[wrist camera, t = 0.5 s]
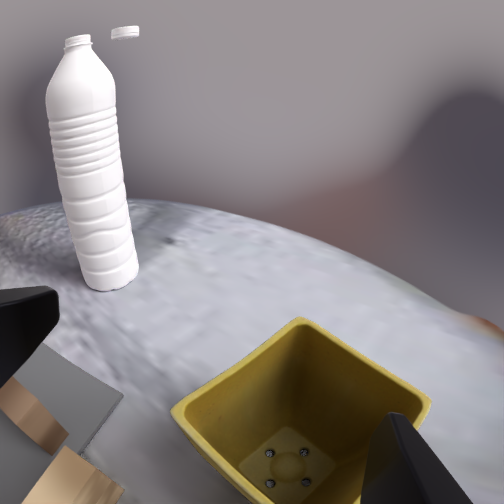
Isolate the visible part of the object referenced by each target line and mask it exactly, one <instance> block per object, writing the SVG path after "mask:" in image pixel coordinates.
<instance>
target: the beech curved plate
mask: <svg viewBox="0 0 504 504" xmlns="http://www.w3.org/2000/svg"><path fill="white" fill-rule="evenodd" d="M123 492H124V489H123V488H121V487H120V486H119V485H117V484H116V483H115V482H114V481H112V480H111V479H110V478H108V477H107V476H106V475H105V474H103V473H102V472H101V471H100V470H98V469H97V468H96V467H94V466H93V465H91V464H90V463H89V462H87V461H86V460H84V459H83V458H82V457H80V456H79V455H78V454H76V453H75V452H74V451H72V450H71V449H70V448H68V447H67V446H66V445H65V446H64V447H63V448H62V450H61V451H60V452H59V454H58V455H57V456H56V458H55V459H54V460H53V462H52V463H51V464H50V466H49V467H48V468H47V470H46V471H45V472H44V474H43V475H42V476H41V478H40V479H39V480H38V482H37V483H36V484H35V486H34V487H33V488H32V490H31V491H30V493H29V494H28V495H27V497H26V498H25V499H24V501H23V502H22V504H116V502H117V501H118V499H119V498H120V496H121V495H122V493H123Z"/></svg>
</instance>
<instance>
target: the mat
mask: <svg viewBox="0 0 504 504" xmlns="http://www.w3.org/2000/svg"><path fill="white" fill-rule="evenodd" d="M13 377H14V378H15V379H16V380H17V381H18V382H19V383H20V384H21V385H22V386H24V387H25V388H26V389H27V390H28V391H29V392H30V393H31V394H32V395H34V396H35V397H36V398H37V399H38V400H39V401H40V402H41V403H42V405H43V406H44V407H45V408H46V409H47V410H48V411H49V413H50V414H51V415H52V416H53V417H54V418H55V419H56V420H57V421H58V422H59V424H60V425H61V426H62V427H63V428H64V429H65V430H66V431H67V432H68V433H69V435H68V436H67V438H66V439H65V440H64V442H63V443H62V444H61V445H60V447H59V448H58V449H57V451H56V452H55V453H54V455H53V456H51V455H50V454H49V453H48V452H46V451H45V450H44V449H43V448H42V447H40V446H39V445H38V444H37V443H36V442H35V441H33V440H32V439H31V438H30V437H29V436H28V435H27V434H26V433H24V432H23V431H22V430H21V429H20V428H19V427H18V426H17V425H16V424H15V423H14V422H13V421H12V420H11V419H10V418H9V417H8V416H7V415H6V414H5V413H4V412H3V411H2V410H1V408H0V504H22V502H23V501H24V499H25V498H26V497H27V495H28V494H29V493H30V491H31V490H32V488H33V487H34V486H35V484H36V483H37V482H38V480H39V479H40V478H41V476H42V475H43V474H44V472H45V471H46V470H47V468H48V467H49V466H50V464H51V463H52V462H53V460H54V459H55V458H56V456H57V455H58V454H59V452H60V451H61V450H62V448H63V447H64V446H65V445H66V446H67V447H68V448H70V449H71V450H72V451H74V452H75V453H76V454H78V455H80V454H81V453H82V451H83V450H84V449H85V447H86V446H87V445H88V443H89V442H90V441H91V439H92V438H93V437H94V435H95V434H96V432H97V431H98V430H99V428H100V427H101V426H102V424H103V423H104V422H105V420H106V419H107V418H108V416H109V415H110V414H111V412H112V411H113V410H114V408H115V407H116V406H117V404H118V403H119V402H120V400H121V399H122V398H123V394H122V393H121V392H119V391H117V390H115V389H114V388H112V387H110V386H108V385H107V384H105V383H103V382H102V381H100V380H98V379H97V378H95V377H93V376H92V375H90V374H88V373H87V372H85V371H84V370H82V369H80V368H79V367H77V366H76V365H74V364H73V363H71V362H70V361H68V360H67V359H65V358H64V357H62V356H61V355H59V354H58V353H56V352H55V351H54V350H52V349H51V348H49V347H48V346H47V345H45V344H44V343H41V344H40V345H39V347H38V348H37V349H36V350H35V352H34V353H33V354H32V355H31V357H30V358H29V359H28V360H27V361H26V362H25V363H24V364H23V365H22V366H21V367H20V369H19V370H18V371H17V372H16V373H15V374H14V375H13Z"/></svg>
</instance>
